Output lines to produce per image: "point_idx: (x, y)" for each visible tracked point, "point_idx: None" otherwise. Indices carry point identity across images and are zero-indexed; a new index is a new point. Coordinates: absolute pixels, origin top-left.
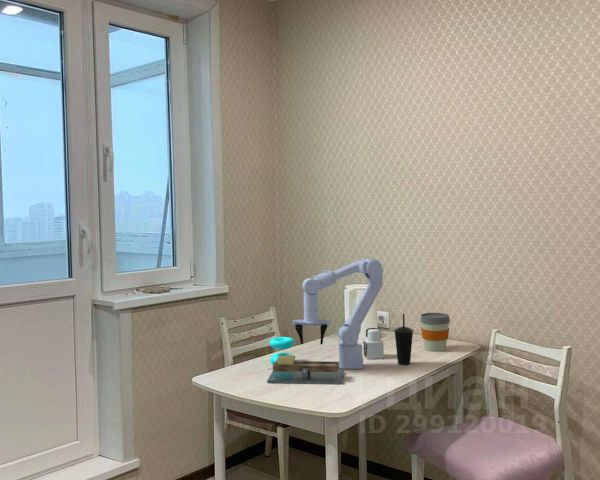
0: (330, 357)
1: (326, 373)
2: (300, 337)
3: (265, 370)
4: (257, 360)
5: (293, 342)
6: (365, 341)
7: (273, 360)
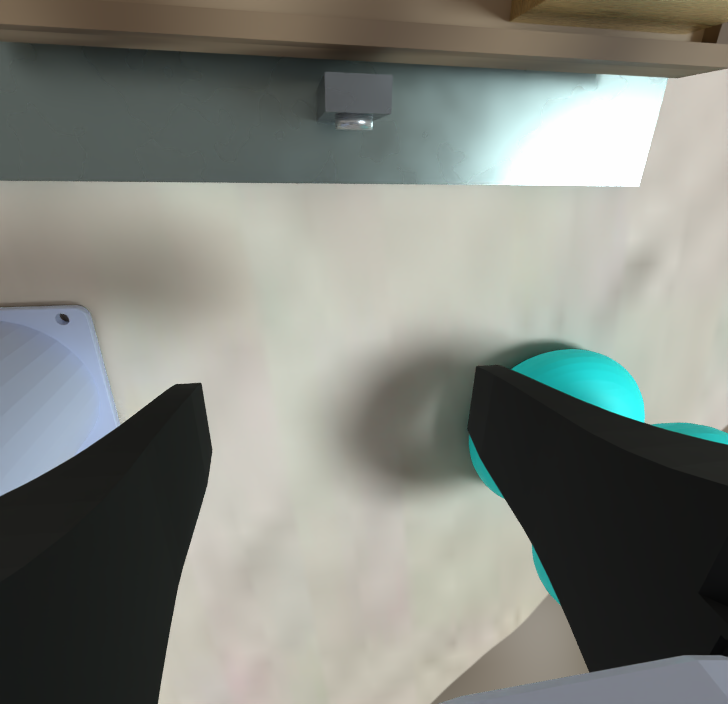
0: (230, 567)
1: None
2: (568, 400)
3: (674, 228)
4: None
5: None
6: None
7: (628, 373)
